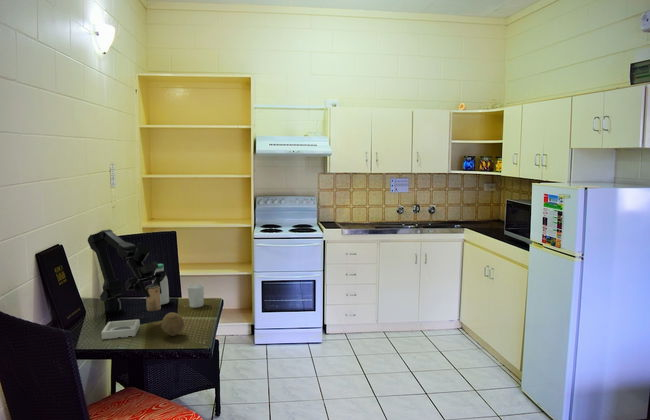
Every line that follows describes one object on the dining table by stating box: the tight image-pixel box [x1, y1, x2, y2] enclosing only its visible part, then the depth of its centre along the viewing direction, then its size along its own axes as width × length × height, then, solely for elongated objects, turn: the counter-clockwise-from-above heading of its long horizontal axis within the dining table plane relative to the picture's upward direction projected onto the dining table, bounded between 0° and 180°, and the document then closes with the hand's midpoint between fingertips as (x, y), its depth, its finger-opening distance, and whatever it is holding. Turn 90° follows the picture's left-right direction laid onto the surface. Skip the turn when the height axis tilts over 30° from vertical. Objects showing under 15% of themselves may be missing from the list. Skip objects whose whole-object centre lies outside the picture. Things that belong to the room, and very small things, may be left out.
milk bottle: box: [151, 263, 170, 306], centre depth 255 cm, size 8×8×20 cm
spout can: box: [145, 283, 162, 312], centre depth 223 cm, size 8×6×11 cm
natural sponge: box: [160, 312, 185, 337], centre depth 209 cm, size 9×9×10 cm
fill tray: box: [101, 319, 141, 340], centre depth 215 cm, size 13×13×3 cm
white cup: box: [187, 283, 205, 309], centre depth 250 cm, size 8×8×10 cm
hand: (154, 295), depth 223 cm, fingers closed on spout can, 6 cm apart
